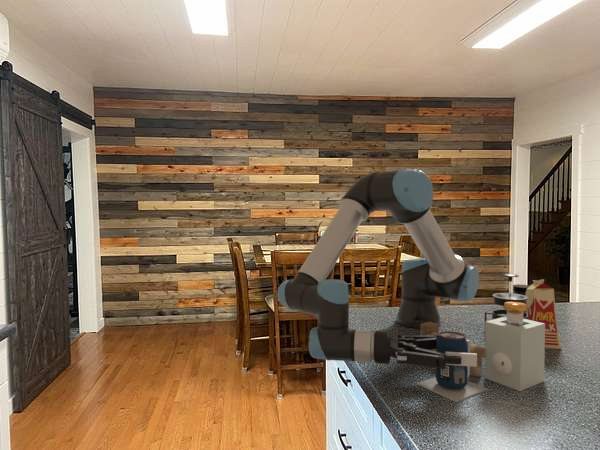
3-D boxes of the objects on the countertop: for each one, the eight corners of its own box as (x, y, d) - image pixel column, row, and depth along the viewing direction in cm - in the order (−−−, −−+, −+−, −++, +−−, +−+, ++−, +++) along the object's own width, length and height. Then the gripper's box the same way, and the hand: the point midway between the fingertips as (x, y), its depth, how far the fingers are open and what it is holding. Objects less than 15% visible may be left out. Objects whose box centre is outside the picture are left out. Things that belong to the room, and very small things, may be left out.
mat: (417, 384, 102) (417, 383, 102) (447, 374, 108) (447, 373, 108) (456, 402, 93) (456, 401, 93) (487, 390, 99) (487, 388, 99)
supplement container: (510, 313, 166) (511, 286, 166) (514, 309, 172) (514, 283, 171) (530, 316, 162) (530, 288, 162) (533, 312, 167) (533, 285, 167)
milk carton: (561, 348, 126) (563, 280, 125) (527, 347, 128) (528, 280, 127) (550, 339, 135) (551, 275, 134) (518, 337, 137) (519, 274, 136)
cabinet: (479, 380, 105) (479, 322, 104) (508, 369, 111) (509, 315, 110) (514, 393, 97) (515, 332, 96) (544, 381, 103) (545, 323, 103)
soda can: (444, 377, 106) (445, 328, 105) (472, 385, 101) (473, 334, 100) (430, 385, 101) (430, 334, 100) (458, 394, 96) (459, 341, 95)
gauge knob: (499, 332, 105) (499, 303, 104) (511, 329, 107) (511, 300, 107) (518, 337, 101) (519, 307, 100) (530, 334, 103) (530, 304, 103)
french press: (531, 353, 122) (532, 273, 121) (530, 364, 114) (531, 278, 113) (486, 347, 128) (487, 270, 127) (482, 357, 120) (483, 275, 119)
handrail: (419, 355, 122) (420, 324, 121) (430, 352, 124) (430, 321, 123) (481, 379, 105) (481, 342, 105) (492, 375, 107) (492, 339, 107)
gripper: (375, 347, 115) (465, 352, 110) (370, 379, 94) (481, 388, 89) (375, 319, 115) (465, 323, 110) (370, 345, 94) (482, 352, 89)
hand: (472, 352), depth 99 cm, fingers open, 9 cm apart
